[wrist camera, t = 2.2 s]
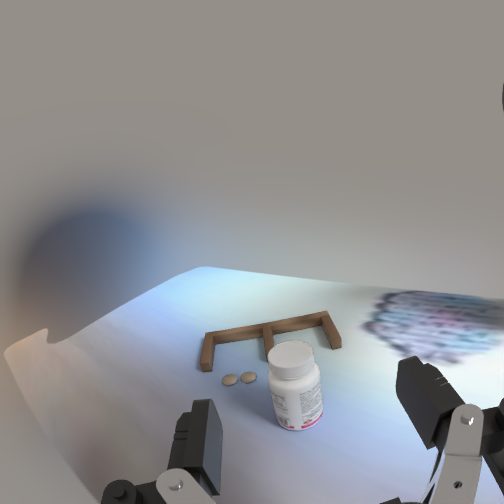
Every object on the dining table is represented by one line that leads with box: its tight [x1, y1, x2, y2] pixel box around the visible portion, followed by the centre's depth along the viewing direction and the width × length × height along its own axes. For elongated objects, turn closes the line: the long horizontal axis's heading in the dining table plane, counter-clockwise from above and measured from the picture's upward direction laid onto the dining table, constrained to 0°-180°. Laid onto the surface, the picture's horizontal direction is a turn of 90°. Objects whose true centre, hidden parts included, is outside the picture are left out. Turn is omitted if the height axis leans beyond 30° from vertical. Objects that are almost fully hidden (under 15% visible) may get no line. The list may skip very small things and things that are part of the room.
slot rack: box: [200, 311, 341, 386], centre depth 40 cm, size 18×11×2 cm, turn 92°
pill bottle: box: [268, 340, 323, 431], centre depth 27 cm, size 5×5×8 cm
